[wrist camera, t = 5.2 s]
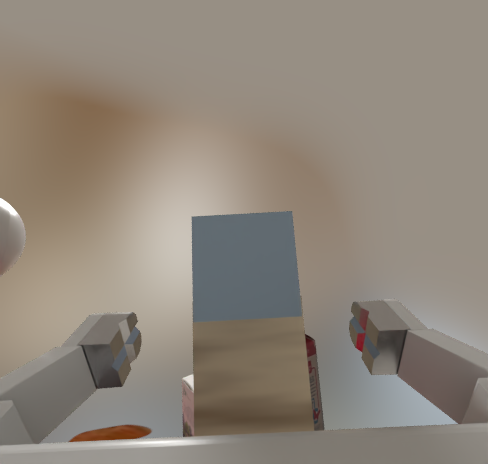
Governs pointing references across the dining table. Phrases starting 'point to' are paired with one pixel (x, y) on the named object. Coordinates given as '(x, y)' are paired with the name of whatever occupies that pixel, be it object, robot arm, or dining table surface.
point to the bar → (244, 267)
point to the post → (251, 377)
